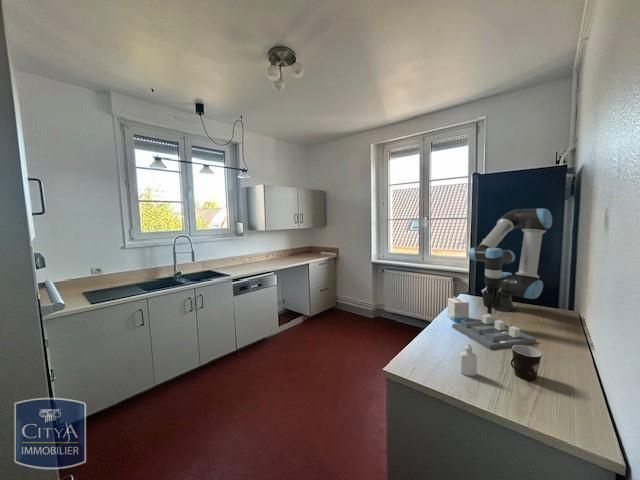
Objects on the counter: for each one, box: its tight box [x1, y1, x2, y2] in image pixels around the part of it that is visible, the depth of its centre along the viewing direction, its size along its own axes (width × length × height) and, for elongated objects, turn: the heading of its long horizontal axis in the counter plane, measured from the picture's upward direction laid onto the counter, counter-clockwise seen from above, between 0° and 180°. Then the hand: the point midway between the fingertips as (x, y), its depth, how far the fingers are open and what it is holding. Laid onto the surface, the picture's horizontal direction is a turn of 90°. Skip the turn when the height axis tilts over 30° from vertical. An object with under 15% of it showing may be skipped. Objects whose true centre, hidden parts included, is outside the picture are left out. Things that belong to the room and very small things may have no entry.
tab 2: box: [494, 319, 506, 331], centre depth 133 cm, size 3×3×4 cm
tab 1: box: [481, 313, 491, 324], centre depth 140 cm, size 3×3×4 cm
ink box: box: [447, 295, 470, 323], centre depth 151 cm, size 9×8×13 cm
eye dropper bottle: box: [459, 342, 478, 377], centre depth 100 cm, size 4×6×12 cm
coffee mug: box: [510, 344, 542, 382], centre depth 98 cm, size 12×9×10 cm
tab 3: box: [509, 326, 521, 338], centre depth 125 cm, size 3×3×4 cm
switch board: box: [451, 319, 537, 350], centre depth 132 cm, size 26×24×4 cm
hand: (491, 319), depth 141 cm, fingers closed
